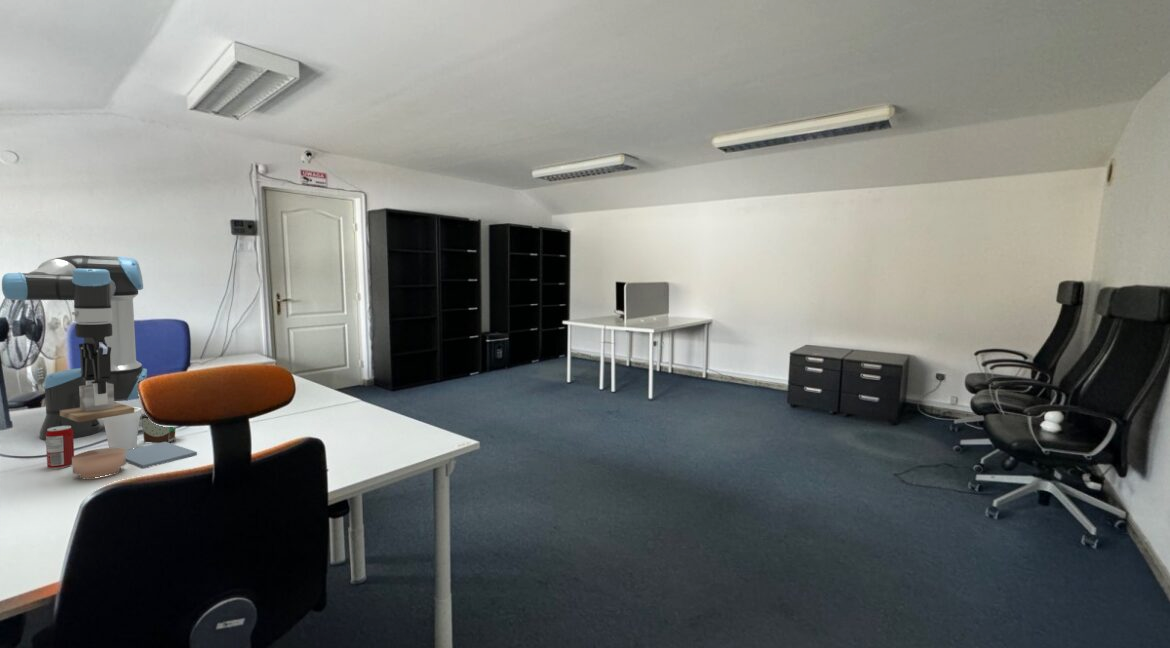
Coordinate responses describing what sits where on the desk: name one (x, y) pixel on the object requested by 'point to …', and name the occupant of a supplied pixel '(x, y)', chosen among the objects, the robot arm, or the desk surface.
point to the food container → (156, 431)
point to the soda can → (59, 447)
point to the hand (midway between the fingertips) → (97, 403)
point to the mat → (156, 454)
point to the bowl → (98, 462)
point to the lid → (95, 412)
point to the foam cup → (123, 429)
